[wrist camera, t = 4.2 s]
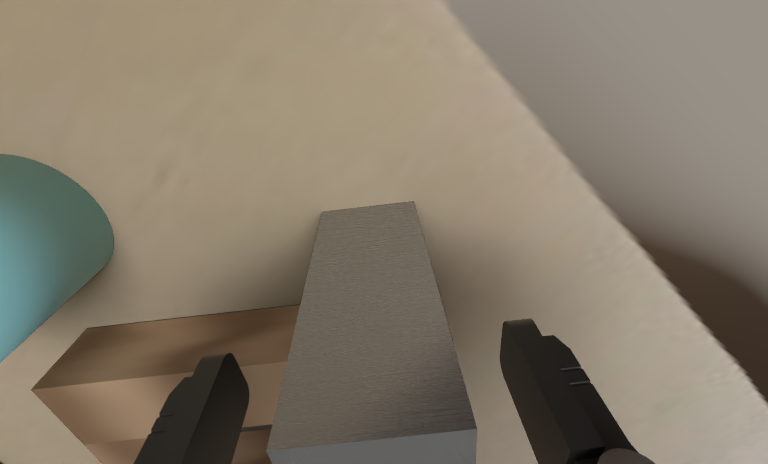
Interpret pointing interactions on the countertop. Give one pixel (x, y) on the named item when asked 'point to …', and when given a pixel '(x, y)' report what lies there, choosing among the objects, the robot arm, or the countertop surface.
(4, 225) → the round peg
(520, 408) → the robot arm
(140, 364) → the socket block
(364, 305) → the square peg
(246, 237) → the countertop surface
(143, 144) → the countertop surface
